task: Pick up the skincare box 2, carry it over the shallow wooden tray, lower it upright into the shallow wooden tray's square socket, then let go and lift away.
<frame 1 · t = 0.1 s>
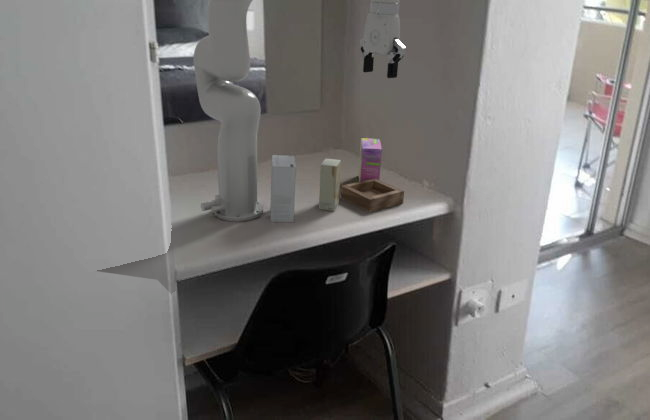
hand: (379, 74, 165), 31 cm above the table, fingers open, 9 cm apart
skincare box: (282, 216, 151), on the table
skincare box 2: (328, 207, 158), on the table
box: (368, 182, 177), on the table
shallow wooden tray: (371, 200, 163), on the table
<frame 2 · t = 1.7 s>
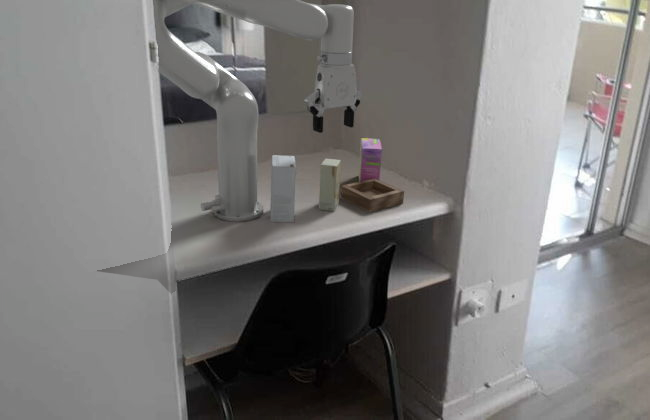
hand: (333, 128, 150), 21 cm above the table, fingers open, 9 cm apart
nothing on the table moved.
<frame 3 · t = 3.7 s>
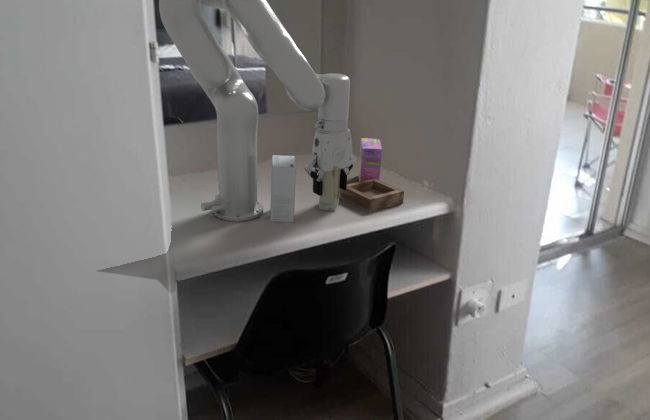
hand: (329, 190, 156), 4 cm above the table, fingers closed on skincare box 2, 7 cm apart
skincare box 2: (329, 207, 158), on the table, touching gripper
everything else where it was.
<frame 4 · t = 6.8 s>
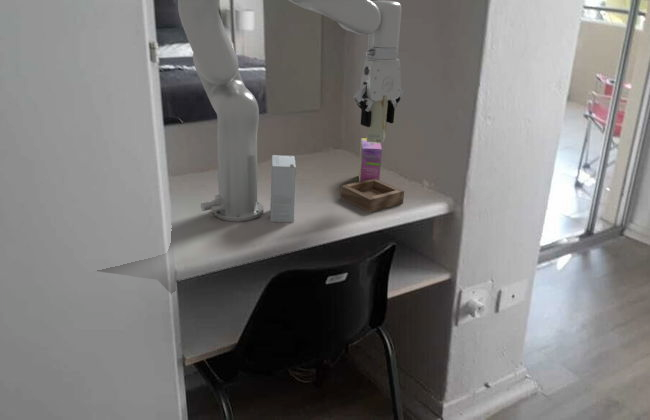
hand: (377, 123, 155), 21 cm above the table, fingers closed on skincare box 2, 7 cm apart
skincare box 2: (375, 140, 156), point 17 cm above the table, touching gripper
everything else where it was.
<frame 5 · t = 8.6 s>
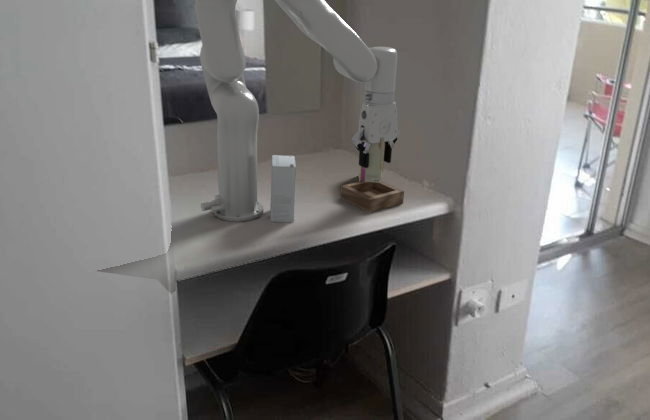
hand: (374, 163, 159), 10 cm above the table, fingers closed on skincare box 2, 7 cm apart
skincare box 2: (373, 179, 161), point 6 cm above the table, touching gripper
everything else where it was.
when the fingers open (6 cm above the table, at t = 10.1 s): skincare box 2 stays where it is, resting on shallow wooden tray.
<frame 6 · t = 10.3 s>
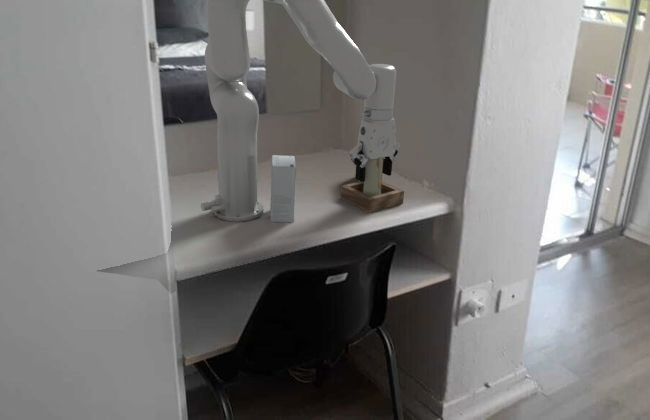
hand: (373, 177, 160), 7 cm above the table, fingers open, 9 cm apart
skincare box 2: (371, 197, 163), point 1 cm above the table, touching shallow wooden tray
everything else where it was.
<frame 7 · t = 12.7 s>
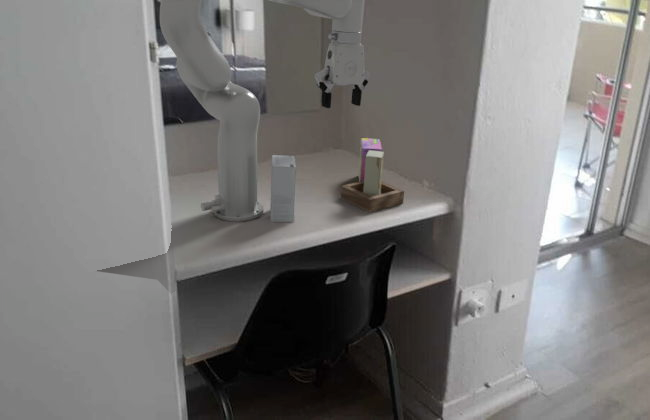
hand: (341, 106, 157), 25 cm above the table, fingers open, 9 cm apart
nothing on the table moved.
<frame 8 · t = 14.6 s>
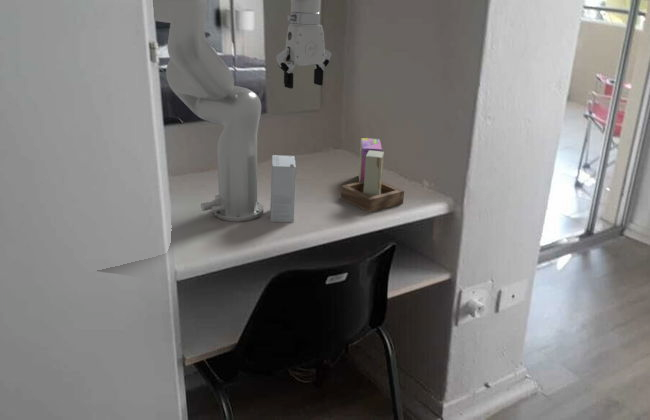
hand: (303, 86, 161), 28 cm above the table, fingers open, 9 cm apart
nothing on the table moved.
at the end: skincare box 2 0.1 cm off-centre on the shallow wooden tray, point 0.8 cm above the shallow wooden tray's base; skincare box 2 tilted 0°; the gripper is holding nothing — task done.
